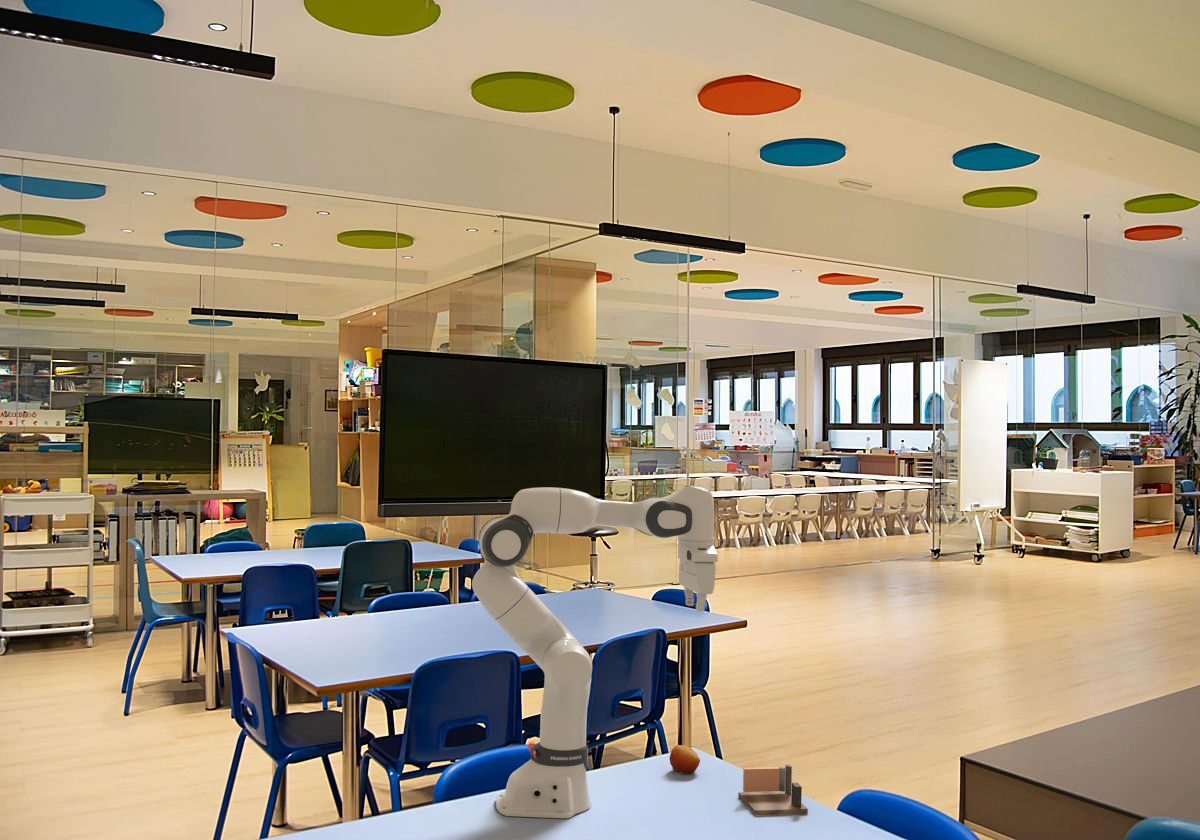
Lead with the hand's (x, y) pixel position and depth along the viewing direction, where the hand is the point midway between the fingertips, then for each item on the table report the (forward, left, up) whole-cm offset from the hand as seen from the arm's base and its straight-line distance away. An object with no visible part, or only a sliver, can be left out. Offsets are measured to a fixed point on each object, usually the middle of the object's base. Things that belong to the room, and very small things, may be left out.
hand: (694, 608), depth 236 cm
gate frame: (+19, -5, -47) cm, 51 cm away
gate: (+19, 0, -44) cm, 48 cm away
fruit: (+4, +22, -47) cm, 52 cm away
